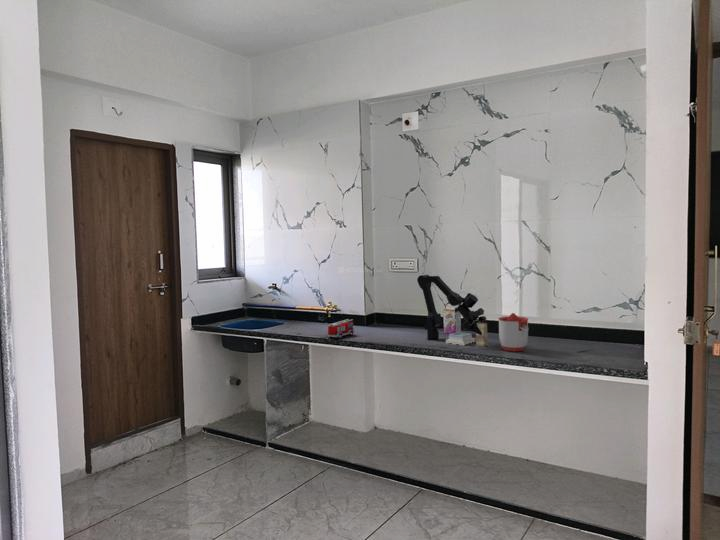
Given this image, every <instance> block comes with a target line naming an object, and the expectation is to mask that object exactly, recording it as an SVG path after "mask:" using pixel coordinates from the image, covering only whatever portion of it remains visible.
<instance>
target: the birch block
mask: <svg viewBox="0 0 720 540" xmlns="http://www.w3.org/2000/svg"><path fill="white" fill-rule="evenodd" d="M477 327H478V328H479V330H480V331H481V333H482V335H479V334H477V333H475V342H476V343H475V345H479V346H478V347H486V346H488V323H487V322H484V323H477ZM485 345H486V346H485Z"/></svg>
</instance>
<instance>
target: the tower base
mask: <svg viewBox="0 0 720 540" xmlns="http://www.w3.org/2000/svg"><path fill="white" fill-rule="evenodd" d="M472 335H473V334H472V333H467V332H462V331H461V332H456V333H453V334H448V338H447V339H445V344H448V343H452V344H451V345H456V344H459V345H458V346H466V344H467V345H469V343H470V344H473V343H475V342H476V338H474V337H473V336H472ZM472 342H473V343H472Z"/></svg>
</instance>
